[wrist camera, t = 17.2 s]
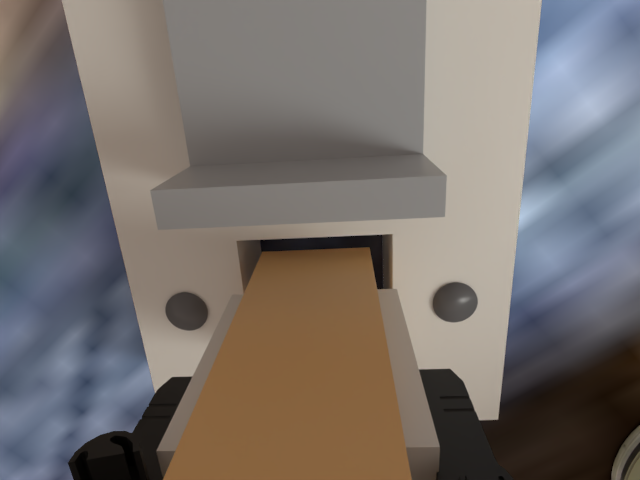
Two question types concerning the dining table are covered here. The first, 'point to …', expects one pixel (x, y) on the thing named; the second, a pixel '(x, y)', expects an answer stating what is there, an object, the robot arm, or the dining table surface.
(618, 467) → the coffee can
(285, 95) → the shutter
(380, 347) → the plug
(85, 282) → the dining table surface
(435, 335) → the socket plate
